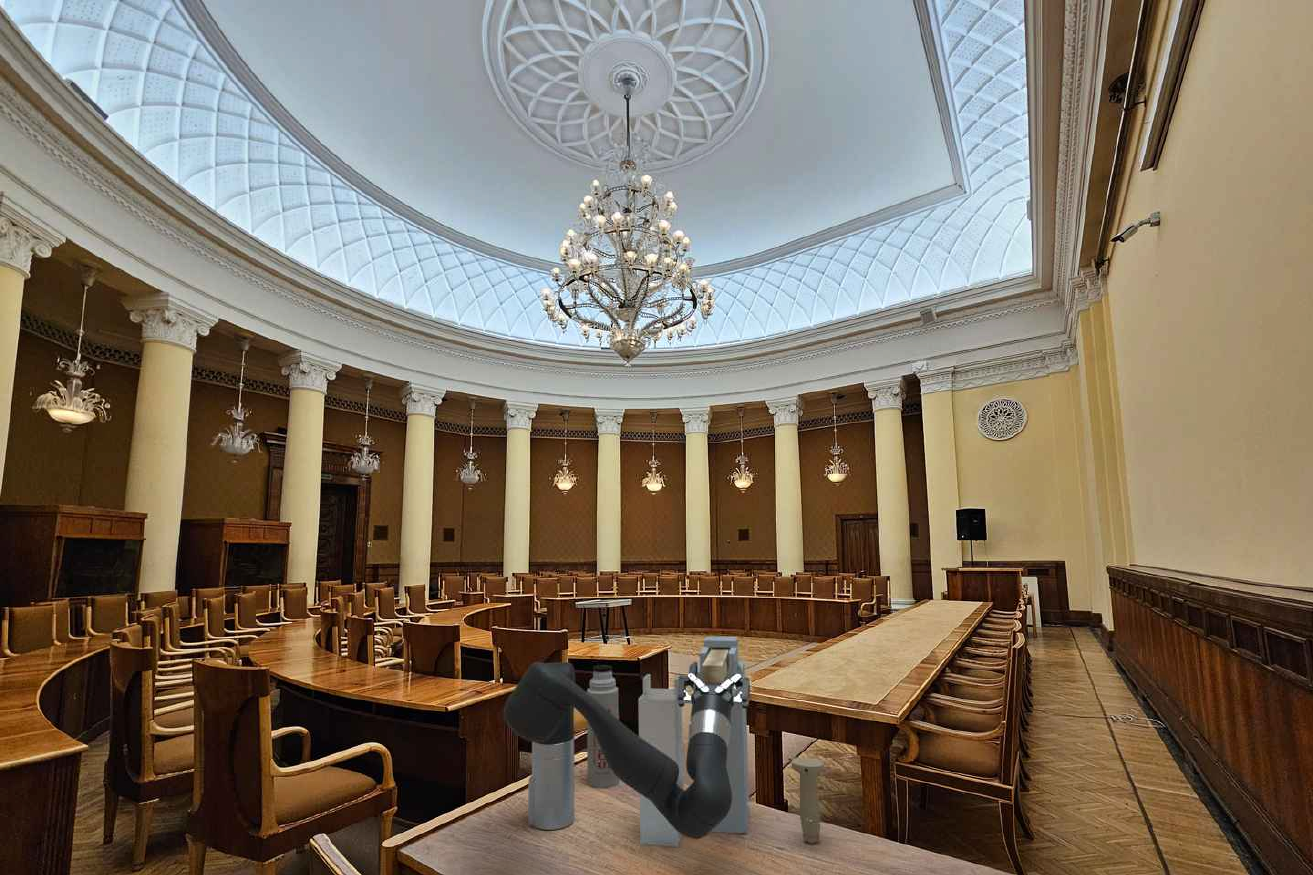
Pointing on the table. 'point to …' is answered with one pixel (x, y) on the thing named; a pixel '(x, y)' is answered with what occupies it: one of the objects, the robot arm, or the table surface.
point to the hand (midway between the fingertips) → (716, 665)
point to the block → (716, 665)
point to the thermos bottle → (607, 696)
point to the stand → (733, 744)
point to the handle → (809, 796)
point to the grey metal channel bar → (665, 734)
